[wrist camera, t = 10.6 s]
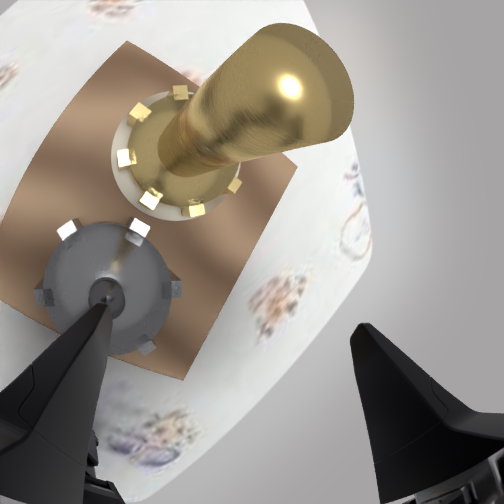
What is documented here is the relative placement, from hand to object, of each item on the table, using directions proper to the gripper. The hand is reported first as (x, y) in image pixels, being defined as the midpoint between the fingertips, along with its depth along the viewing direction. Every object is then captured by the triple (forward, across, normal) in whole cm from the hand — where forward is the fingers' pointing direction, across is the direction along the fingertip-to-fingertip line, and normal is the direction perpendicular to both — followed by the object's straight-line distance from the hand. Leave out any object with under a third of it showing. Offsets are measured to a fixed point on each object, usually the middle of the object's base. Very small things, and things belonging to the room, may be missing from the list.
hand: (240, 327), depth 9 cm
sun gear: (+7, +8, +5) cm, 11 cm away
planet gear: (+12, +4, -3) cm, 12 cm away
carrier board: (+11, +6, +2) cm, 12 cm away
